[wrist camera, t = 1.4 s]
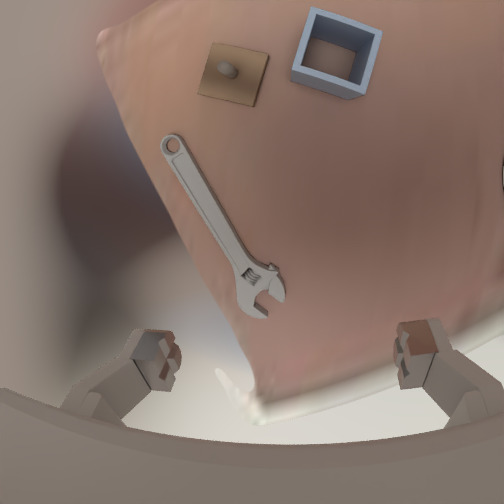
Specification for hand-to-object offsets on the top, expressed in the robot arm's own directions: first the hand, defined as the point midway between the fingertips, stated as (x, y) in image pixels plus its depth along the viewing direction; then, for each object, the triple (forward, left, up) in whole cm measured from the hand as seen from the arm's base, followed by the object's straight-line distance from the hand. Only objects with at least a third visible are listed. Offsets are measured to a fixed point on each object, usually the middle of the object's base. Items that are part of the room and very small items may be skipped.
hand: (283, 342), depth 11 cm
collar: (-7, -12, -26) cm, 30 cm away
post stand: (+3, -13, -26) cm, 30 cm away
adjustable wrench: (+8, +3, -27) cm, 28 cm away
